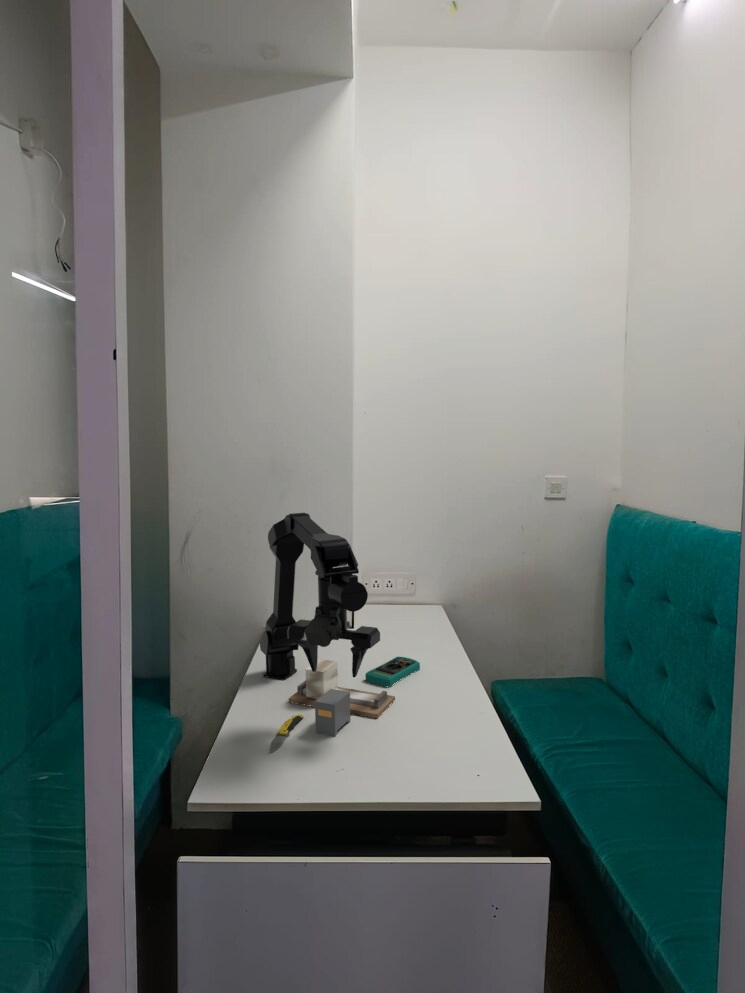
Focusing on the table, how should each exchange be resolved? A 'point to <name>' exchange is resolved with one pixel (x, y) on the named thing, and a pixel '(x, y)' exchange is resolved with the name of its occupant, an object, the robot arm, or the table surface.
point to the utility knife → (285, 731)
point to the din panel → (328, 679)
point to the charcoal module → (332, 711)
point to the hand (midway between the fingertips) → (334, 673)
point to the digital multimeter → (392, 671)
